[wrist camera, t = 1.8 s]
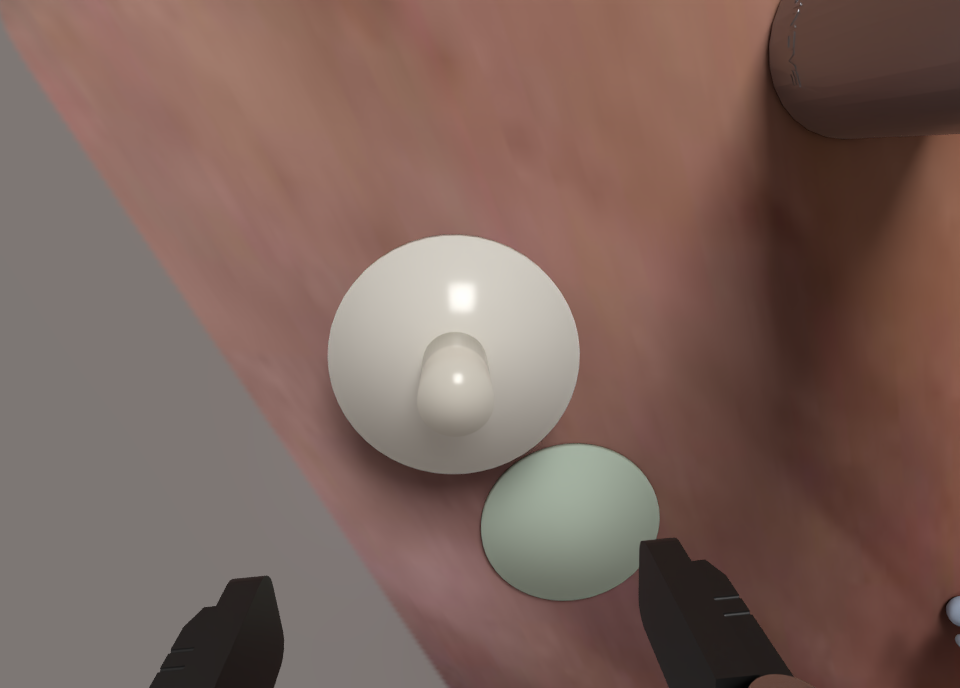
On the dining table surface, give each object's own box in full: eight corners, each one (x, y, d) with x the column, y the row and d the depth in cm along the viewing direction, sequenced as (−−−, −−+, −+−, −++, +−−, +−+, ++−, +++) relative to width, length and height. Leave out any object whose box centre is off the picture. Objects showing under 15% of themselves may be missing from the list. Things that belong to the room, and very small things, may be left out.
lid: (572, 223, 26) (602, 239, 21) (578, 455, 29) (605, 516, 24) (312, 245, 26) (278, 265, 21) (350, 475, 29) (329, 542, 24)
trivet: (659, 435, 34) (661, 438, 34) (655, 587, 38) (657, 592, 37) (474, 452, 34) (474, 455, 34) (487, 603, 38) (487, 608, 37)
